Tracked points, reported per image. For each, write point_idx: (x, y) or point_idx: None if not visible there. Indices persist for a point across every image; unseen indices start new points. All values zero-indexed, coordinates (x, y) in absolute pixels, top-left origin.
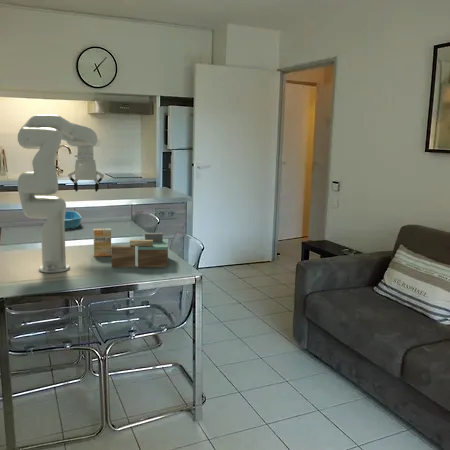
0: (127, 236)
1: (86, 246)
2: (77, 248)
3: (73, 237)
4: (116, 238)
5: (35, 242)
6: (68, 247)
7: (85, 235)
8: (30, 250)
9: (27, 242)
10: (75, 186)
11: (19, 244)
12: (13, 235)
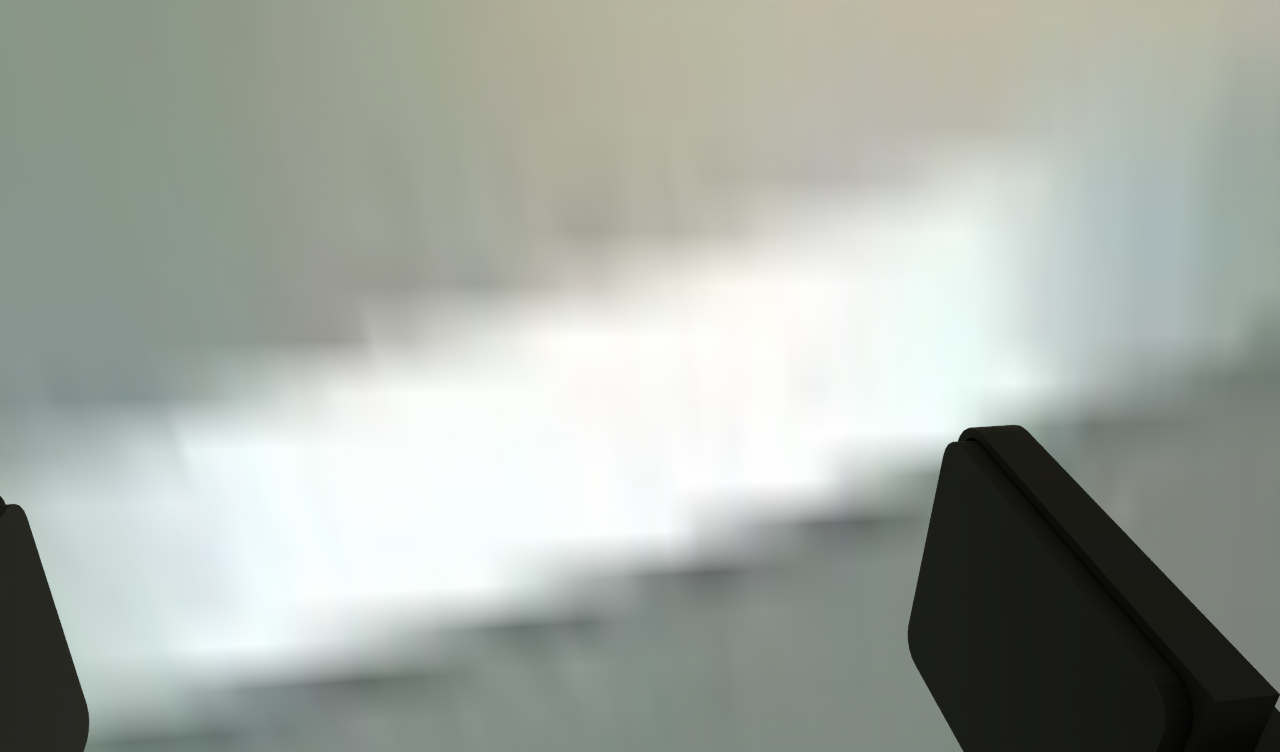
0: (133, 740)
1: (525, 226)
2: (623, 111)
3: (738, 653)
4: (241, 643)
5: (1105, 423)
6: (743, 173)
7: (625, 741)
8: (1174, 18)
9: (1180, 421)
10: (1139, 567)
11: (1261, 331)
12: (1276, 684)
